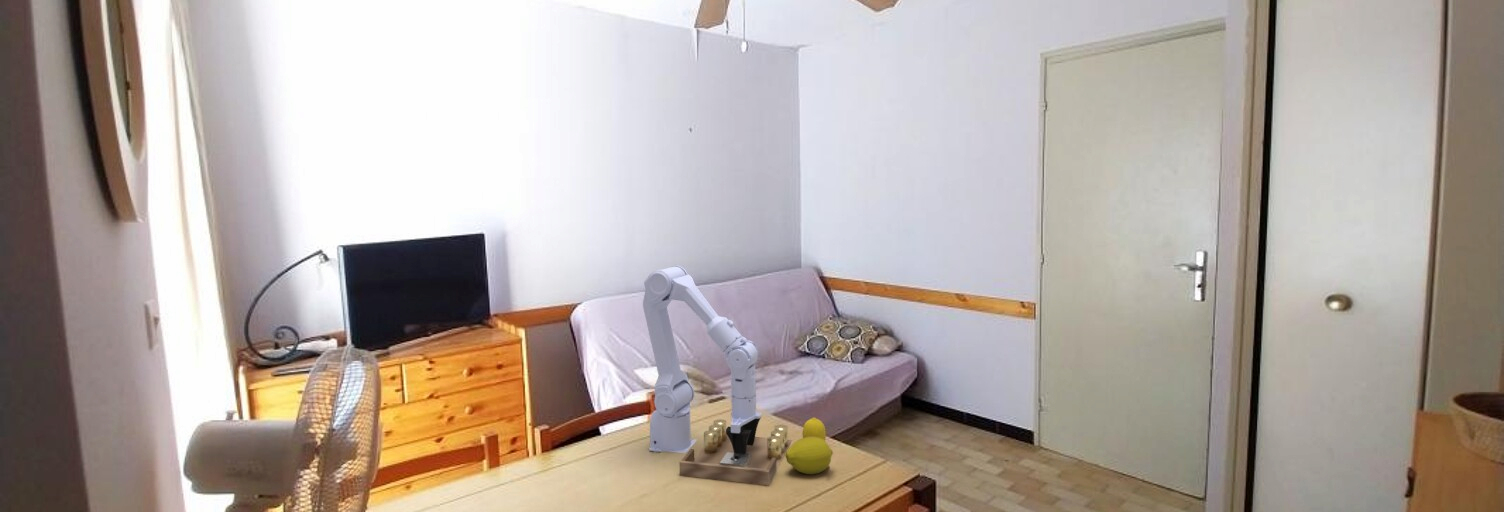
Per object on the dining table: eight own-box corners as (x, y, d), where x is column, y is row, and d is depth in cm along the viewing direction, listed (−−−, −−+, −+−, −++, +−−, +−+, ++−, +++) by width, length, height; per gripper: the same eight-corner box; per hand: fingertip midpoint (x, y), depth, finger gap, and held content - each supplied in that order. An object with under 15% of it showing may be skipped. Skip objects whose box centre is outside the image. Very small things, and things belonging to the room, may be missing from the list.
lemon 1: (825, 445, 152) (825, 413, 151) (826, 455, 146) (825, 422, 145) (802, 444, 152) (802, 413, 151) (802, 454, 147) (802, 421, 146)
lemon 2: (828, 463, 142) (828, 429, 141) (838, 478, 134) (838, 443, 134) (781, 467, 141) (781, 432, 140) (788, 483, 133) (788, 447, 132)
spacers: (702, 453, 147) (701, 434, 147) (716, 436, 157) (715, 418, 156) (779, 461, 142) (779, 442, 142) (789, 443, 152) (788, 425, 151)
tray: (679, 477, 136) (679, 462, 136) (715, 435, 159) (715, 421, 159) (768, 488, 131) (768, 471, 130) (792, 442, 154) (792, 428, 153)
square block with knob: (719, 473, 137) (719, 462, 136) (727, 462, 142) (727, 452, 142) (744, 475, 135) (744, 465, 135) (751, 464, 141) (751, 454, 140)
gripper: (752, 406, 136) (753, 466, 137) (767, 386, 150) (768, 440, 151) (721, 404, 138) (722, 463, 139) (739, 384, 152) (740, 437, 153)
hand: (744, 451), depth 145 cm, fingers open, 7 cm apart
